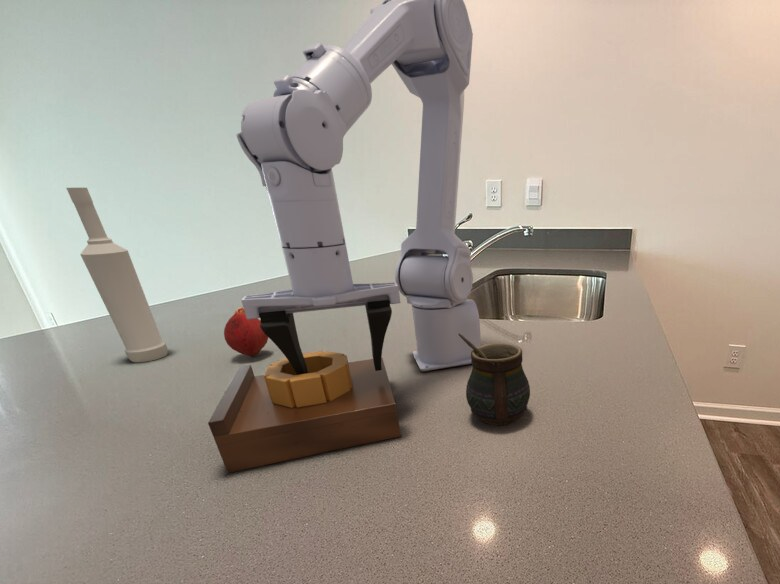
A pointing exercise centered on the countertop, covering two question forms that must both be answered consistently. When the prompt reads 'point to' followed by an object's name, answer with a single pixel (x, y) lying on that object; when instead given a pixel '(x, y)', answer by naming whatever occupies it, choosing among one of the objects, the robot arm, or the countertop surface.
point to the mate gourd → (497, 383)
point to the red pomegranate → (244, 334)
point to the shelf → (301, 419)
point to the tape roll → (309, 380)
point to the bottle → (118, 285)
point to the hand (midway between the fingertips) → (342, 372)
